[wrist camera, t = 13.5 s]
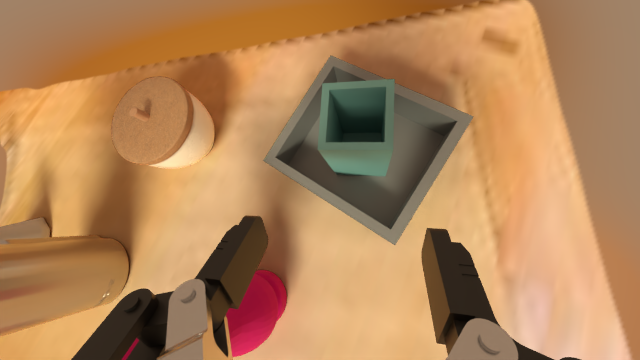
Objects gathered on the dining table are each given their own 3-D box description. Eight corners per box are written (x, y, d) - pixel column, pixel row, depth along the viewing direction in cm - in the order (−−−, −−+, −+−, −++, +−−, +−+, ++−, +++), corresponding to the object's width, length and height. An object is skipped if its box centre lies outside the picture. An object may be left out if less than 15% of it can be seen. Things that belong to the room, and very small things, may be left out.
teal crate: (336, 174, 27) (317, 150, 18) (339, 130, 28) (322, 83, 19) (385, 176, 26) (393, 150, 17) (386, 129, 27) (394, 78, 18)
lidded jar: (241, 121, 33) (192, 83, 24) (206, 188, 32) (141, 175, 23) (187, 97, 36) (125, 55, 27) (154, 158, 35) (79, 137, 26)
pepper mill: (255, 253, 29) (27, 316, 10) (302, 288, 27) (131, 452, 8) (225, 304, 29) (-71, 472, 10) (270, 343, 27) (11, 655, 8)
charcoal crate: (280, 170, 30) (263, 160, 25) (337, 81, 31) (330, 55, 26) (390, 240, 26) (394, 245, 21) (455, 135, 26) (473, 116, 21)
